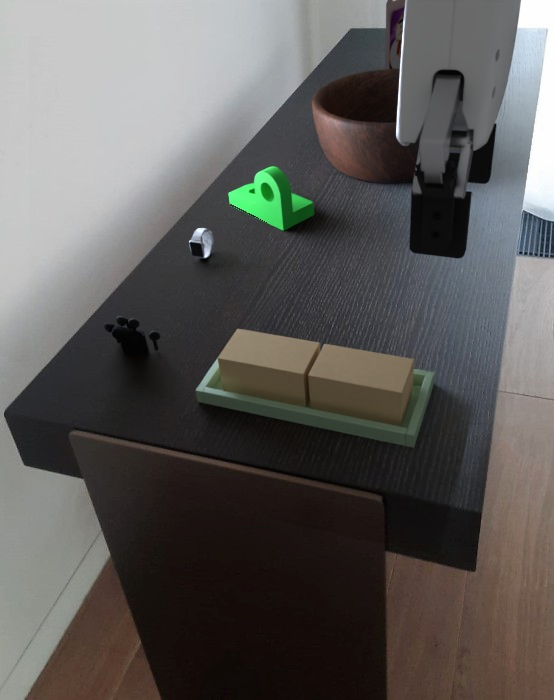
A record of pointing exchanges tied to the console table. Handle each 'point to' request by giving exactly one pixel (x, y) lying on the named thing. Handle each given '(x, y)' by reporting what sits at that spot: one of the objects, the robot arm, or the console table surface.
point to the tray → (404, 435)
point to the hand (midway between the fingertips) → (452, 214)
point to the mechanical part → (272, 200)
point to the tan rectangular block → (361, 384)
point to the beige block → (268, 366)
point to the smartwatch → (197, 245)
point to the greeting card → (394, 33)
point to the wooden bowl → (364, 127)
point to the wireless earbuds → (131, 336)
